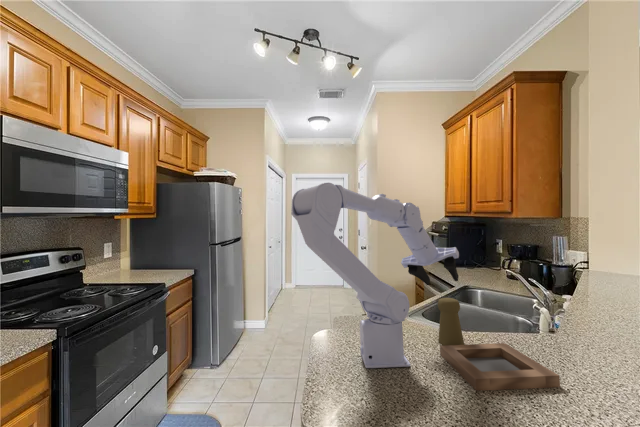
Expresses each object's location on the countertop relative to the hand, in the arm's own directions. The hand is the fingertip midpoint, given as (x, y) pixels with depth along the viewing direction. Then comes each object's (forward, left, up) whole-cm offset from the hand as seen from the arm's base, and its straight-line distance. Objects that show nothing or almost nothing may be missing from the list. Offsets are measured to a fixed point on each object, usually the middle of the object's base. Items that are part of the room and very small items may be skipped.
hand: (442, 280), depth 77 cm
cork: (0, -4, -15) cm, 16 cm away
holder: (+2, -18, -15) cm, 23 cm away
